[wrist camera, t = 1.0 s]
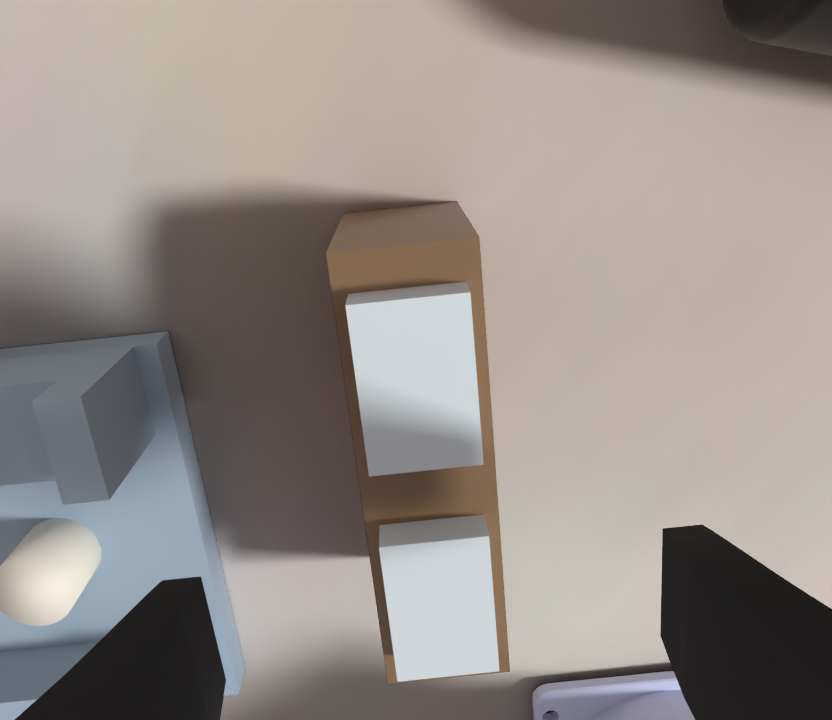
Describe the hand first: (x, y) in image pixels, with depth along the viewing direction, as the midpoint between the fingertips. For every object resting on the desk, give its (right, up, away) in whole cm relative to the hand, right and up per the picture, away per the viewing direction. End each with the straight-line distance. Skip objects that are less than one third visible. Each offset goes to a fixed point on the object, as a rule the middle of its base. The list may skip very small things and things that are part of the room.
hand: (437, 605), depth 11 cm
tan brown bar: (0, +3, +8) cm, 9 cm away
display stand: (-10, -1, +9) cm, 14 cm away
